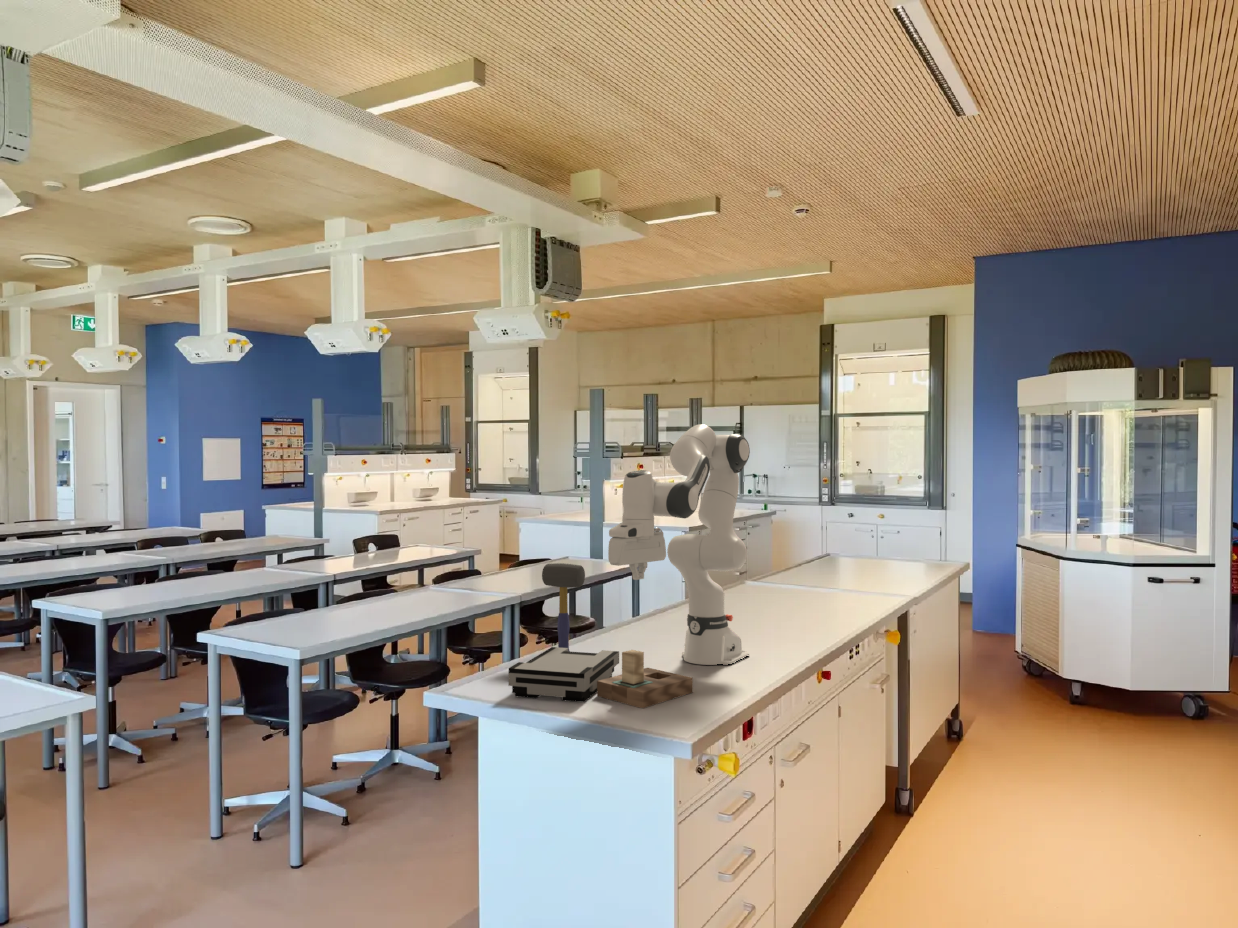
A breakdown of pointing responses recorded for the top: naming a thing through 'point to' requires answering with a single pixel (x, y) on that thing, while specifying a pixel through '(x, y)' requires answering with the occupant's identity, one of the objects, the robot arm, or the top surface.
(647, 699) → the board
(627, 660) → the peg
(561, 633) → the rubber mallet
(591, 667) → the game console
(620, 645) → the top surface
